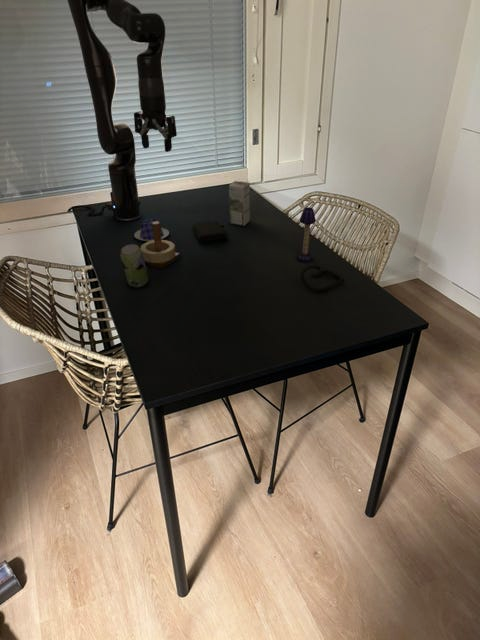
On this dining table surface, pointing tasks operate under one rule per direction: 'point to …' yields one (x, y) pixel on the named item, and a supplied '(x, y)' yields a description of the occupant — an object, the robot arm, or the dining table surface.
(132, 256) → the beverage can
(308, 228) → the purple spotted mushroom
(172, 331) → the dining table surface
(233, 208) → the syrup box
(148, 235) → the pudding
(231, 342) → the dining table surface
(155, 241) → the peg stand
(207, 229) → the carrying case
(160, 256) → the tape roll
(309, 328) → the dining table surface
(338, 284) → the metal loop
